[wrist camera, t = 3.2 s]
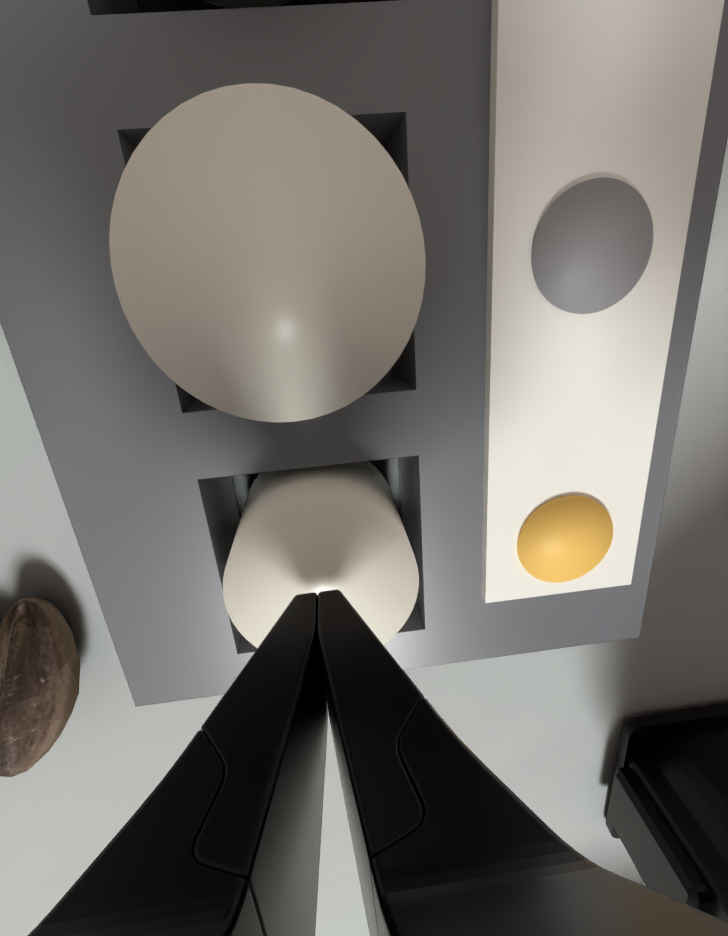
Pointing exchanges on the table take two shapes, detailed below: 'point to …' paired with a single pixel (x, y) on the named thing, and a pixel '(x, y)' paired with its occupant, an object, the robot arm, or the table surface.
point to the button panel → (283, 443)
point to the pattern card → (583, 275)
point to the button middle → (267, 252)
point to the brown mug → (34, 682)
